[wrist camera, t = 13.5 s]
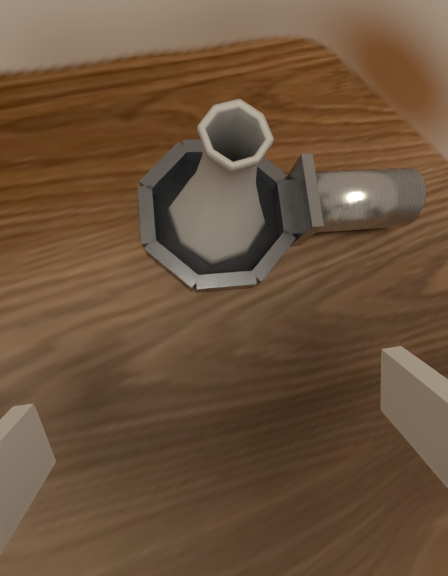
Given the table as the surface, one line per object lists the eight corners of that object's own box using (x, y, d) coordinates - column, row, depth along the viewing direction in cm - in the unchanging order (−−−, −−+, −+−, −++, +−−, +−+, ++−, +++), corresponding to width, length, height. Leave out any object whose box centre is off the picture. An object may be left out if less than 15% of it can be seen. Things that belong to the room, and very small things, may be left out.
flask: (150, 209, 22) (115, 111, 12) (223, 159, 23) (247, 33, 13) (209, 284, 21) (224, 244, 12) (280, 228, 23) (347, 151, 13)
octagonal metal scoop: (372, 148, 25) (409, 111, 21) (396, 274, 24) (441, 262, 20) (139, 155, 23) (126, 114, 19) (148, 296, 21) (137, 288, 17)
